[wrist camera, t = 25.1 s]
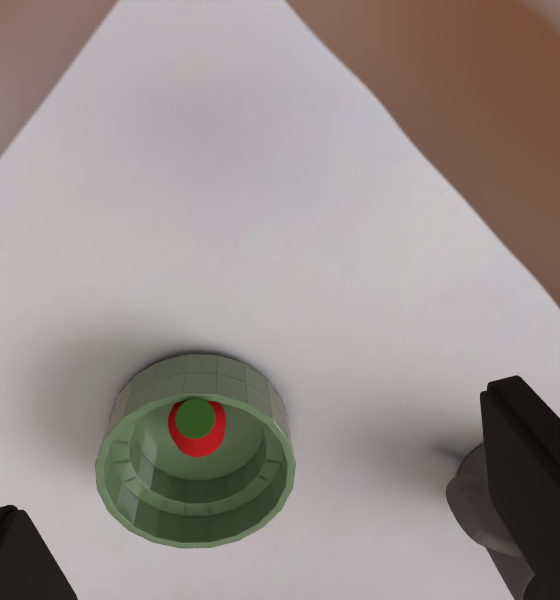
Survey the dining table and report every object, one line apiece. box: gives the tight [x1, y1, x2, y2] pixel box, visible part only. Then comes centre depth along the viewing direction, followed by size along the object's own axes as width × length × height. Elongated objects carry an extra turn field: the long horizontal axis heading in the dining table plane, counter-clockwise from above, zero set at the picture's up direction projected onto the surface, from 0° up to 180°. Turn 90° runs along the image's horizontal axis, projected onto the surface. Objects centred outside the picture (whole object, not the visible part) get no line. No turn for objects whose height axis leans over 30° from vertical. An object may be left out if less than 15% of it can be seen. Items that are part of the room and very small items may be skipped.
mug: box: [446, 444, 550, 600], centre depth 43 cm, size 14×9×12 cm
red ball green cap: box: [175, 431, 225, 457], centre depth 41 cm, size 4×4×4 cm
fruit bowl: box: [95, 354, 296, 548], centre depth 41 cm, size 14×14×6 cm
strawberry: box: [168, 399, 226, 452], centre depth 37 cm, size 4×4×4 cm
